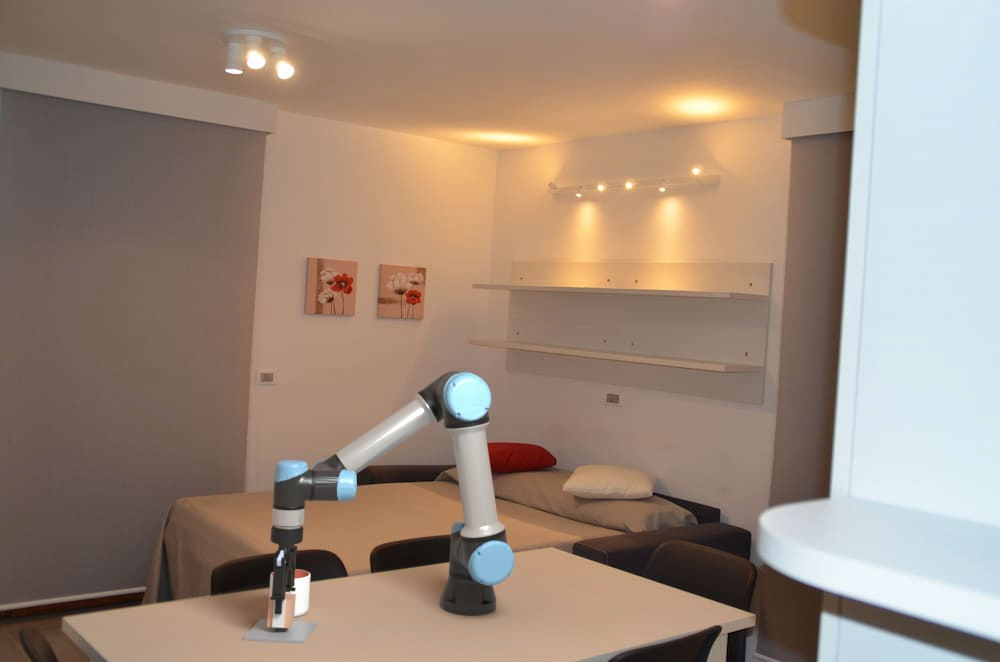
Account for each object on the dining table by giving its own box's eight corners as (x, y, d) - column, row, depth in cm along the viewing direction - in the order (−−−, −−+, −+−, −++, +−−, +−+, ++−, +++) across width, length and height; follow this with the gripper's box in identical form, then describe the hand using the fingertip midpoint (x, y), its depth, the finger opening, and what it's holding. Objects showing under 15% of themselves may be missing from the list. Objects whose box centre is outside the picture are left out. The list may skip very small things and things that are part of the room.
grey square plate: (316, 624, 214) (318, 595, 214) (304, 643, 200) (305, 612, 200) (259, 621, 214) (261, 592, 214) (243, 640, 200) (245, 609, 200)
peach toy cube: (293, 621, 210) (295, 594, 210) (288, 628, 205) (290, 600, 205) (272, 620, 210) (274, 592, 210) (266, 626, 205) (268, 598, 205)
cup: (298, 621, 216) (300, 580, 216) (261, 616, 218) (263, 576, 218) (314, 609, 226) (316, 571, 226) (278, 605, 228) (281, 567, 228)
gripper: (281, 517, 217) (275, 610, 216) (261, 532, 199) (255, 634, 198) (311, 519, 217) (305, 612, 216) (294, 534, 199) (287, 636, 198)
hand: (281, 622), depth 207 cm, fingers closed on peach toy cube, 5 cm apart
